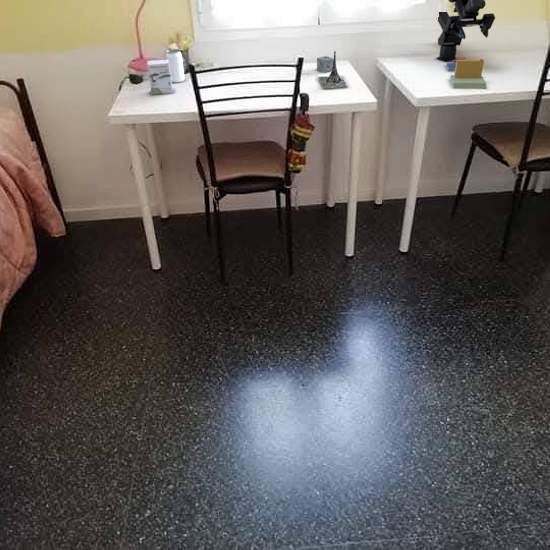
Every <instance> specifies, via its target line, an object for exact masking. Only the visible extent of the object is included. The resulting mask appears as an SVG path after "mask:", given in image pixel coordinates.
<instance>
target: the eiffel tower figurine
mask: <svg viewBox="0 0 550 550" xmlns="http://www.w3.org/2000/svg"><path fill="white" fill-rule="evenodd" d="M336 53H337V51H336V50H334V51H333V58H334V60H333V68H332V71H330V74H329V76H318V77H317V78H318V80H319V82H320V83H321V86H322V88H323V89H335V88H336V89H337V88H344V87H348V84H347V83H346V82H345V80H344V78H343V77H342V76H340V75H339V72H338V69H337V58H336V57H337V55H336Z"/></svg>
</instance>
